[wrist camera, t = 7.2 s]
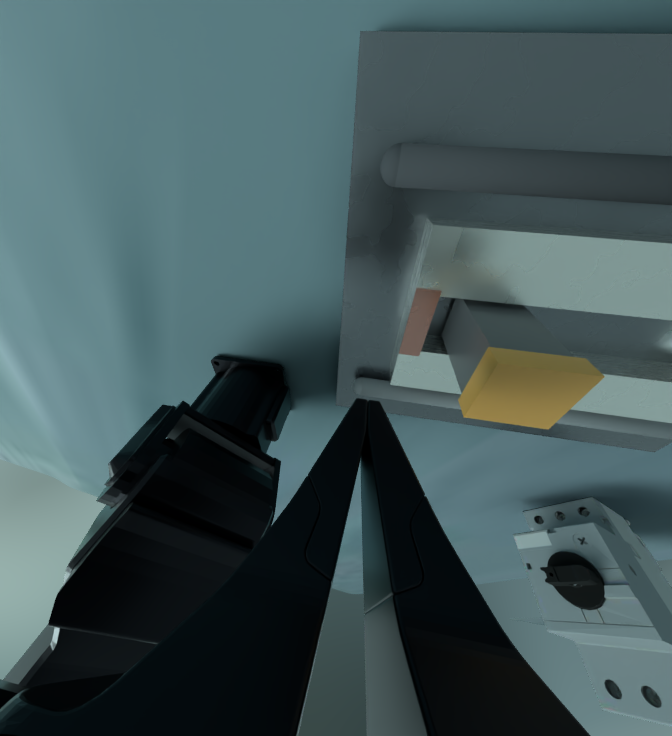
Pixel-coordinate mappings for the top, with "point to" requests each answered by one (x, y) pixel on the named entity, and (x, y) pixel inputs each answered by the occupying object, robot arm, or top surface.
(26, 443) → the top surface
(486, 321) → the breaker lever
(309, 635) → the robot arm
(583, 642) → the circuit breaker
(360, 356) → the breaker panel
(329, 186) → the top surface
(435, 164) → the gray flat tray
